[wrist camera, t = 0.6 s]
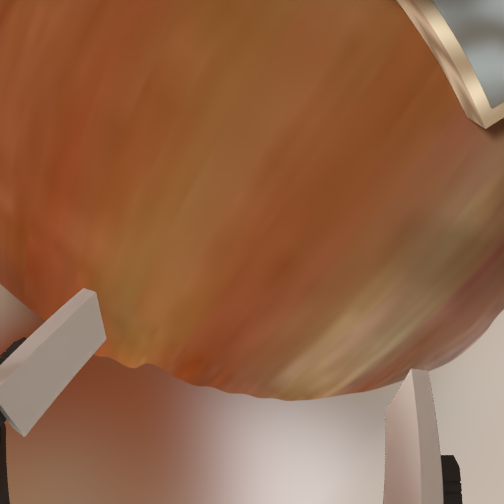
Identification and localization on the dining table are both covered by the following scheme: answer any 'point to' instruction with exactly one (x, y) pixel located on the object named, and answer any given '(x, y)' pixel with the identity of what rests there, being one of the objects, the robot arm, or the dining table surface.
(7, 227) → the dining table surface
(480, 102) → the birch base block
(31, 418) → the robot arm
